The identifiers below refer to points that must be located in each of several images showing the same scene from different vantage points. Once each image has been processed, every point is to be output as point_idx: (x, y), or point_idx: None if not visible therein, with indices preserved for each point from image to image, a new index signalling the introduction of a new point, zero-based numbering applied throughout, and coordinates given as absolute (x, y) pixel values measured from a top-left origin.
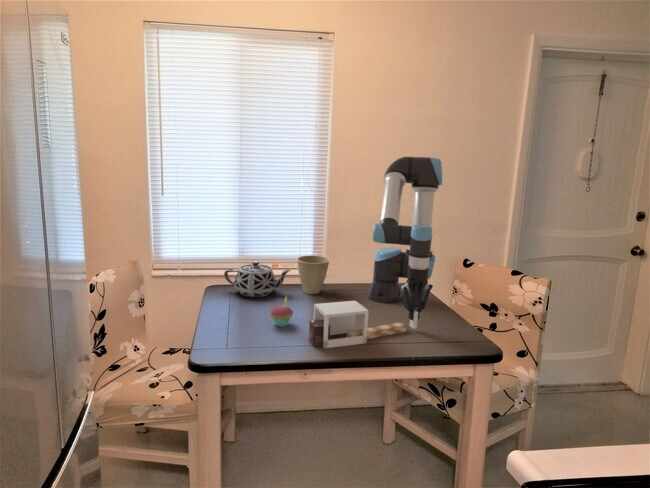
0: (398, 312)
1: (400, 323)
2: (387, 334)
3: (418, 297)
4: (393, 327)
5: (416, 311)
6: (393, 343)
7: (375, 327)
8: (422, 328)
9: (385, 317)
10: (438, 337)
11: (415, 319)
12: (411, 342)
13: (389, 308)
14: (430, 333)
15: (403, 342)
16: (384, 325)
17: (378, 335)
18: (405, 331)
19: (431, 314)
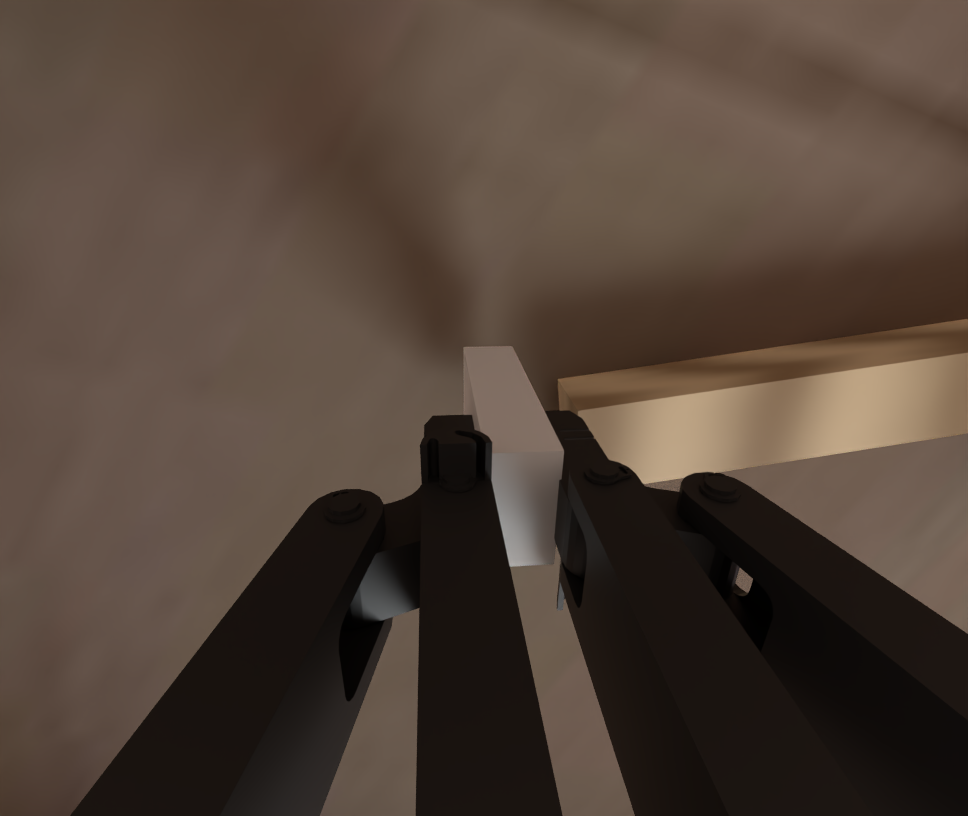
0: (370, 746)
1: (623, 461)
2: (808, 343)
3: (552, 813)
4: (779, 378)
5: (497, 486)
6: (923, 105)
7: (959, 419)
8: (331, 405)
9: (544, 678)
10: (258, 88)
11: (508, 393)
12: (714, 55)
13: (402, 808)
14: (306, 249)
15: (801, 92)
16: (831, 447)
17: (925, 330)
18: (568, 377)
19: (50, 686)
